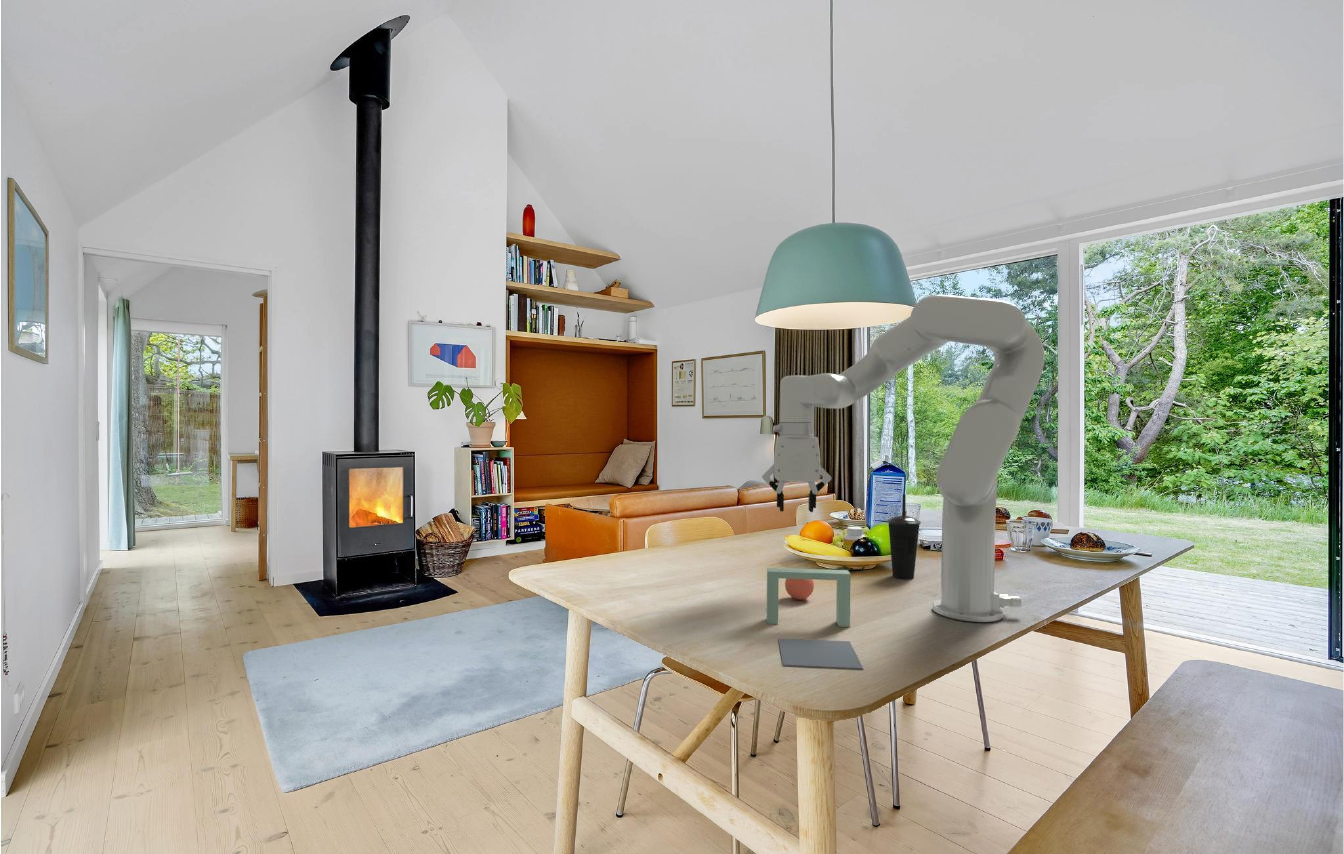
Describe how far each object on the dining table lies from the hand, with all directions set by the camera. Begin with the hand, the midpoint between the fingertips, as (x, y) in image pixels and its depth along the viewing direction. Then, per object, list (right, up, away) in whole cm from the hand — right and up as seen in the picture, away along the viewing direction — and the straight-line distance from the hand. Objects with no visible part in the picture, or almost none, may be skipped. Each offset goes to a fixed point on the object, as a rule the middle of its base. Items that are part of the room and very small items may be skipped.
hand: (796, 510), depth 145 cm
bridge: (-3, -18, -25) cm, 31 cm away
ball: (-1, -15, -9) cm, 17 cm away
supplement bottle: (+19, -18, +21) cm, 34 cm away
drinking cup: (+28, -18, +11) cm, 35 cm away
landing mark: (-4, -18, -41) cm, 45 cm away
